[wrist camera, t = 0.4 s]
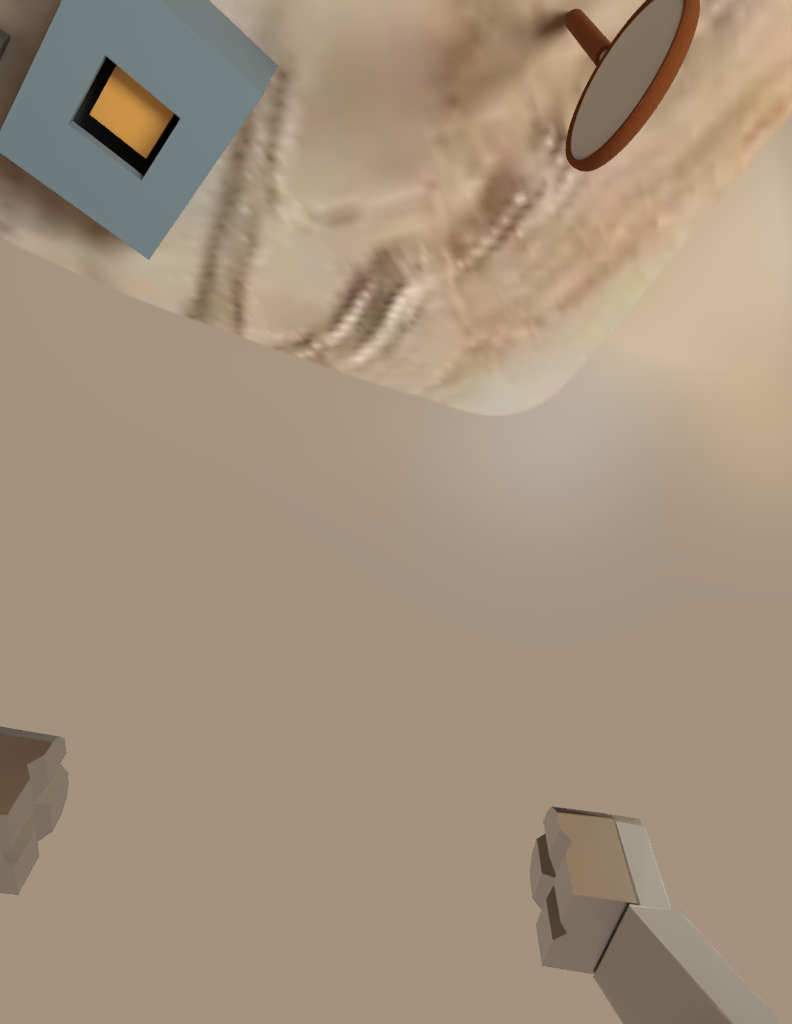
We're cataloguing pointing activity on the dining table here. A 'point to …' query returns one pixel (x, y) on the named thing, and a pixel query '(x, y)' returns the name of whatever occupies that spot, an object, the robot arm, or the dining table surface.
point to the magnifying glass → (626, 76)
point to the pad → (3, 42)
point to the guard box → (161, 71)
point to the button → (132, 112)
